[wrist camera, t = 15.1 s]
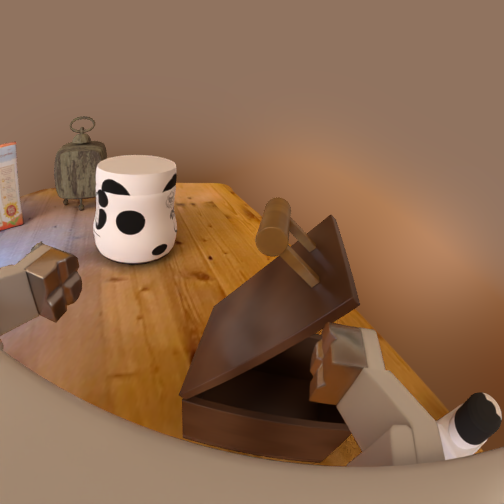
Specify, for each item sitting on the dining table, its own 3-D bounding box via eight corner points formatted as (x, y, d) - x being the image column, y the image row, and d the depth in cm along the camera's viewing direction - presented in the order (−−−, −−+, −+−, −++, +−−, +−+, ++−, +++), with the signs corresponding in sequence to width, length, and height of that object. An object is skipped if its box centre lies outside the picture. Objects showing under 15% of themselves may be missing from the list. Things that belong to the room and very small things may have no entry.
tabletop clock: (106, 200, 76) (110, 114, 64) (105, 212, 69) (108, 117, 57) (61, 203, 70) (60, 117, 58) (55, 215, 63) (53, 120, 51)
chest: (321, 381, 37) (345, 339, 32) (320, 462, 26) (354, 431, 21) (209, 358, 37) (215, 311, 33) (182, 437, 26) (181, 400, 22)
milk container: (190, 245, 62) (199, 164, 54) (140, 284, 48) (140, 183, 39) (131, 223, 67) (134, 150, 58) (79, 252, 52) (72, 165, 43)
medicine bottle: (424, 488, 21) (491, 444, 15) (401, 449, 27) (458, 397, 21) (455, 464, 23) (514, 416, 18) (433, 429, 29) (485, 377, 23)
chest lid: (336, 220, 26) (292, 171, 25) (360, 305, 15) (288, 227, 14) (218, 310, 33) (179, 276, 31) (185, 400, 22) (127, 359, 20)
